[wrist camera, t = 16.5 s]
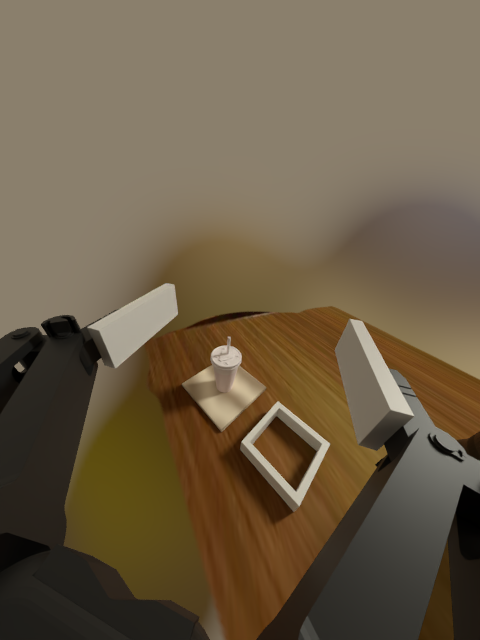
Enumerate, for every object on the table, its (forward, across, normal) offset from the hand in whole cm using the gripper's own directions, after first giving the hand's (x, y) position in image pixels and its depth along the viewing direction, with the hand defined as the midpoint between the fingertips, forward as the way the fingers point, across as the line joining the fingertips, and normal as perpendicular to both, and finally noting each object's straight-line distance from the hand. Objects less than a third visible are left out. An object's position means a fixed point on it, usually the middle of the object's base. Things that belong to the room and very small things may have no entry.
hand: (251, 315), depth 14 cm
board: (+14, -6, -30) cm, 34 cm away
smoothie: (+14, -6, -29) cm, 33 cm away
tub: (+5, +8, -30) cm, 31 cm away
